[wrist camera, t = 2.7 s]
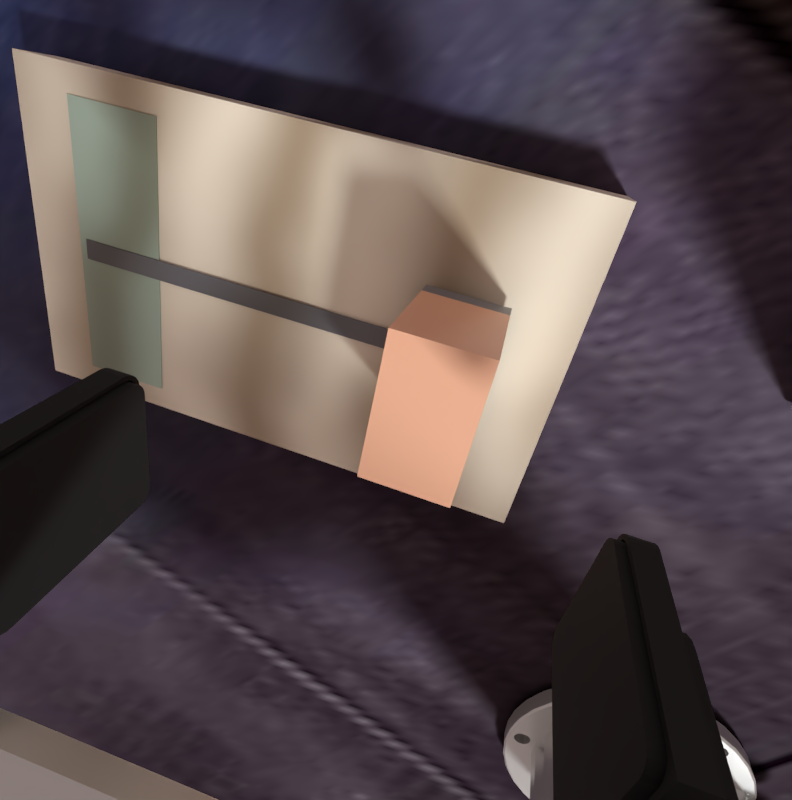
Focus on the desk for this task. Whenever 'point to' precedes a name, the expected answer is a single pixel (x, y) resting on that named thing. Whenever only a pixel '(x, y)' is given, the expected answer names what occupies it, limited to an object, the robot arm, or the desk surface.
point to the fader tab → (432, 392)
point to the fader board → (294, 261)
